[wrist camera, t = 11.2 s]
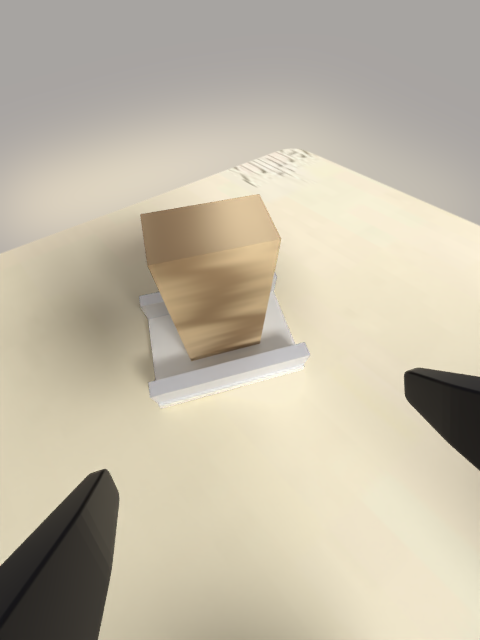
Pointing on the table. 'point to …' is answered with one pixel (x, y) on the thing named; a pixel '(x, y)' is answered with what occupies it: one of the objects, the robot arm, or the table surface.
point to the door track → (217, 356)
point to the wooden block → (214, 271)
